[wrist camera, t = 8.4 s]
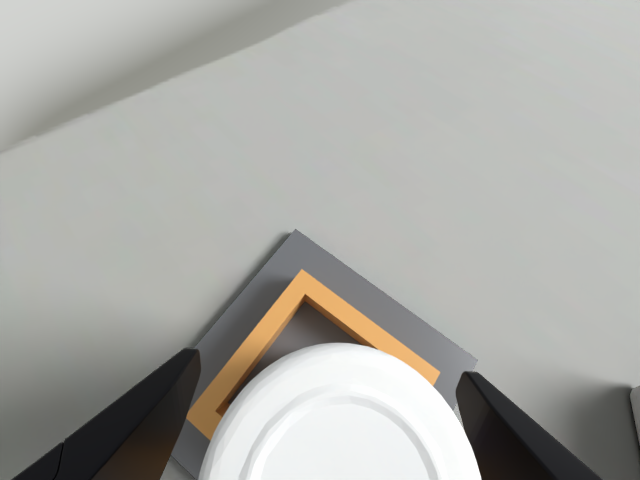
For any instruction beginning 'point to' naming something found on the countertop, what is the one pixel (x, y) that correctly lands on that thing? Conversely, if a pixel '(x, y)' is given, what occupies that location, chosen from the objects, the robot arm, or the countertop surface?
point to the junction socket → (306, 335)
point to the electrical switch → (636, 408)
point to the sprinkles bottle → (339, 422)
